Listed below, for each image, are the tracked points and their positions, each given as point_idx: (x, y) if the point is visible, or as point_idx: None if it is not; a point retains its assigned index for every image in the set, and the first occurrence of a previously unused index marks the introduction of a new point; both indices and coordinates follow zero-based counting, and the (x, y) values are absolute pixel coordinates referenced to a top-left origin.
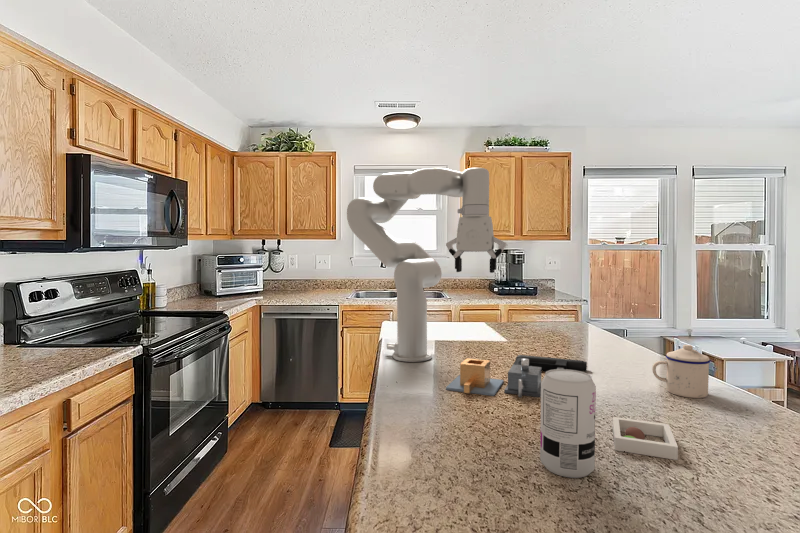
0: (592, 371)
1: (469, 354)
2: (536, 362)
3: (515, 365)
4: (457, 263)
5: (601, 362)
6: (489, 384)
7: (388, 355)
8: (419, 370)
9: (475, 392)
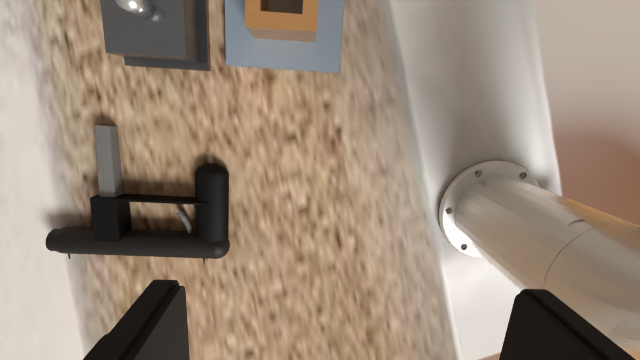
0: None
1: (355, 287)
2: (175, 232)
3: (178, 46)
4: (615, 353)
5: (45, 319)
6: None
7: None
8: (445, 98)
9: None
